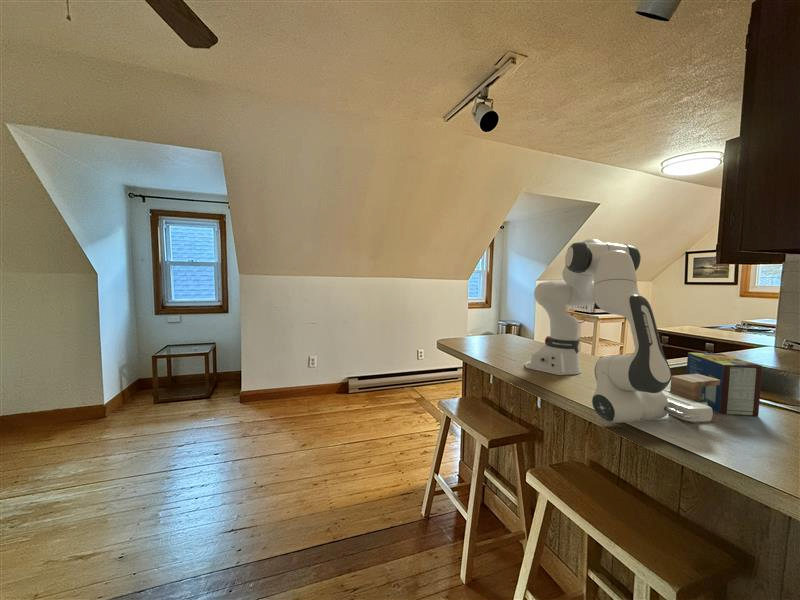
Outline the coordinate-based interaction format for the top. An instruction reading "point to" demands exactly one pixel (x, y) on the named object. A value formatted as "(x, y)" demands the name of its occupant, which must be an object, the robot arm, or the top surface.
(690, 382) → the brown block
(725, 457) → the top surface
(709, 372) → the protein box
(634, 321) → the robot arm
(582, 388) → the top surface
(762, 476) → the top surface
